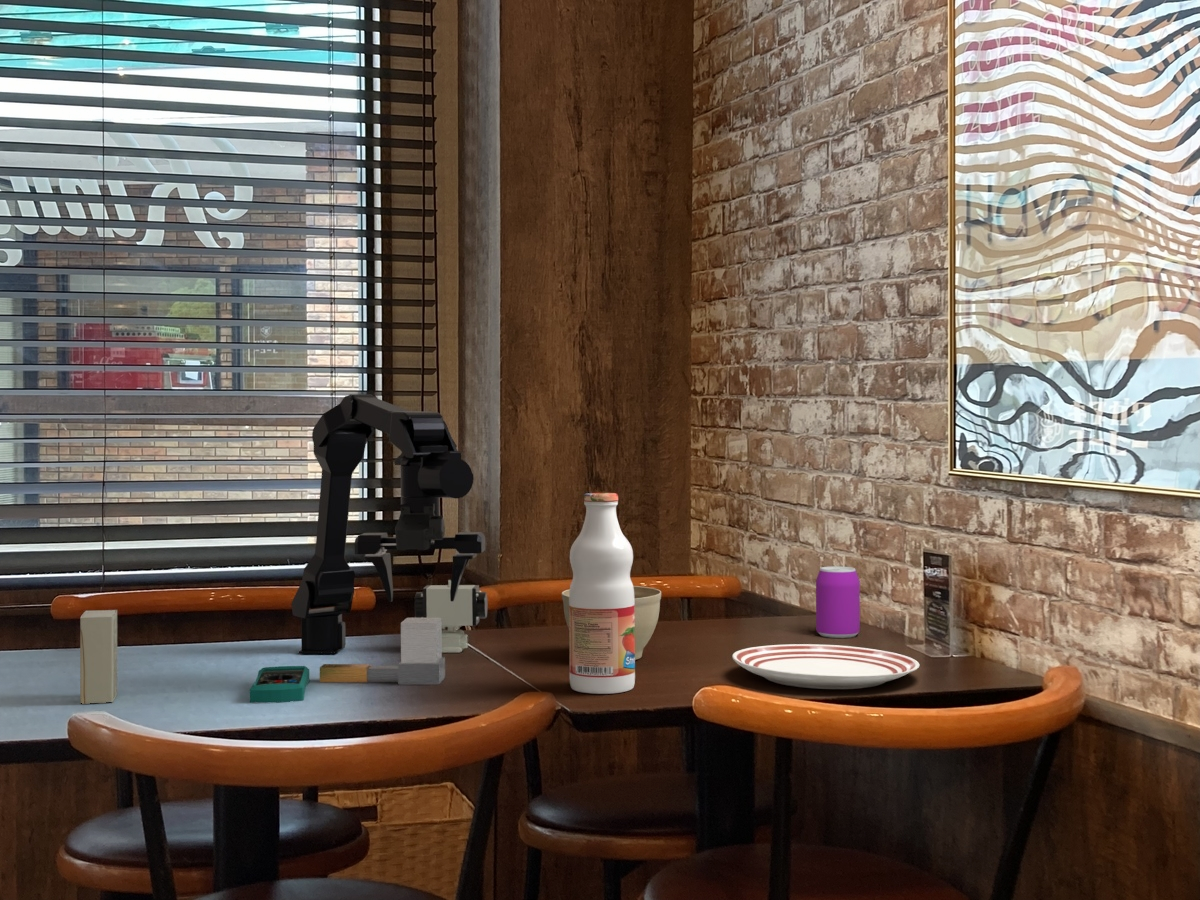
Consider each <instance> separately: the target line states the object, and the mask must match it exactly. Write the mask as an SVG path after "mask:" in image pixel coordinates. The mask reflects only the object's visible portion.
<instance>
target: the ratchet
mask: <svg viewBox="0 0 1200 900" xmlns="http://www.w3.org/2000/svg"><path fill="white" fill-rule="evenodd" d="M445 678H446V657H445V656H442V658H441V659H440V660H439V661H438V662H437V664H401V661H400V662H399V663H398V664H397V665H371V663H368V664H367V663H359V664H358V663H351V664H350V663H347V664H346V663H345V664H344V663H342V664H341V663H338V664H337V663H336V664H335V663H331V664H330V663H329V664H328V663H327V664H325V663H323V664H322V665H321V666H320V667H319V683H398V686H399V685H404V686H406V685H408V686H409V685H410V686H411V685H412V686H414V685H415V686H416V685H417V686H420V685H422V686H423V685H425V686H426V685H429V686H431V685H432V686H433V685H434V686H438V685H440V684H441V683H442V681H443V680H444V679H445Z"/></svg>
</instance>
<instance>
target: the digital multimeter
mask: <svg viewBox="0 0 1200 900" xmlns="http://www.w3.org/2000/svg"><path fill="white" fill-rule="evenodd" d="M309 682H310V668H309V667H307V666H305V665H282V666H281V665H280V666H265V667H262V668H261V669H259V670H258V673H257V677H256V679H255V681H254V683H253V684H252V685H251V687H250V689H249V702H250V703H251V702H276V703H291V702H290V701H293V702H303V701H304V700H305V692H306V689H307V686H308V684H309Z"/></svg>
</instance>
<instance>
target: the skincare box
mask: <svg viewBox="0 0 1200 900" xmlns="http://www.w3.org/2000/svg"><path fill="white" fill-rule="evenodd" d="M79 622H80V634H79V636H80V637H79V639H80V640H79V641H80V646H79V647H80V650H79V651H80V655H79V656H80V657H79V660H80V662H79V665H80V666H79V668H80V669H79V670H80V671H79V677H80V679H79V681H80V682H79V685H80V688H79V689H80V690H79V692H80V694H79V695H80V697H79V700H80V701H79V702H80V703H79V704H81V703H82V704H81V705H91V704H90V703H99V704H107V703H106V702H112V703H114V701H115V699H116V697H117V696H118V609H108V610H107V609H105V610H104V609H102V610H99V609H98V610H84V612H83V613H82V615H81V616H80V621H79Z"/></svg>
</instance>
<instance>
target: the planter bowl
mask: <svg viewBox="0 0 1200 900" xmlns="http://www.w3.org/2000/svg"><path fill="white" fill-rule="evenodd" d="M633 587H634V598H635V608H634V612H635V661H636V660H639V659H641V658H642V656H643V651H644V649H645V647H646V646H647V644H648V643H649V642H650V640H651V637H652V635H653V634H654V631H655V629H656V628H657V627H656V626H657V624H658V620H659V616H660V615H659V614H660V608H661V607H660V606H661V599H662V591H661V590H660V589H658V588H654V587H648V586H638V585H633ZM569 591H570V588H569V589H566V590H563V591H562V592H561V600H562V602H563V603H562V604H563V612H564V619H565V621H566V626H567V628H568V629H569Z"/></svg>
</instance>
